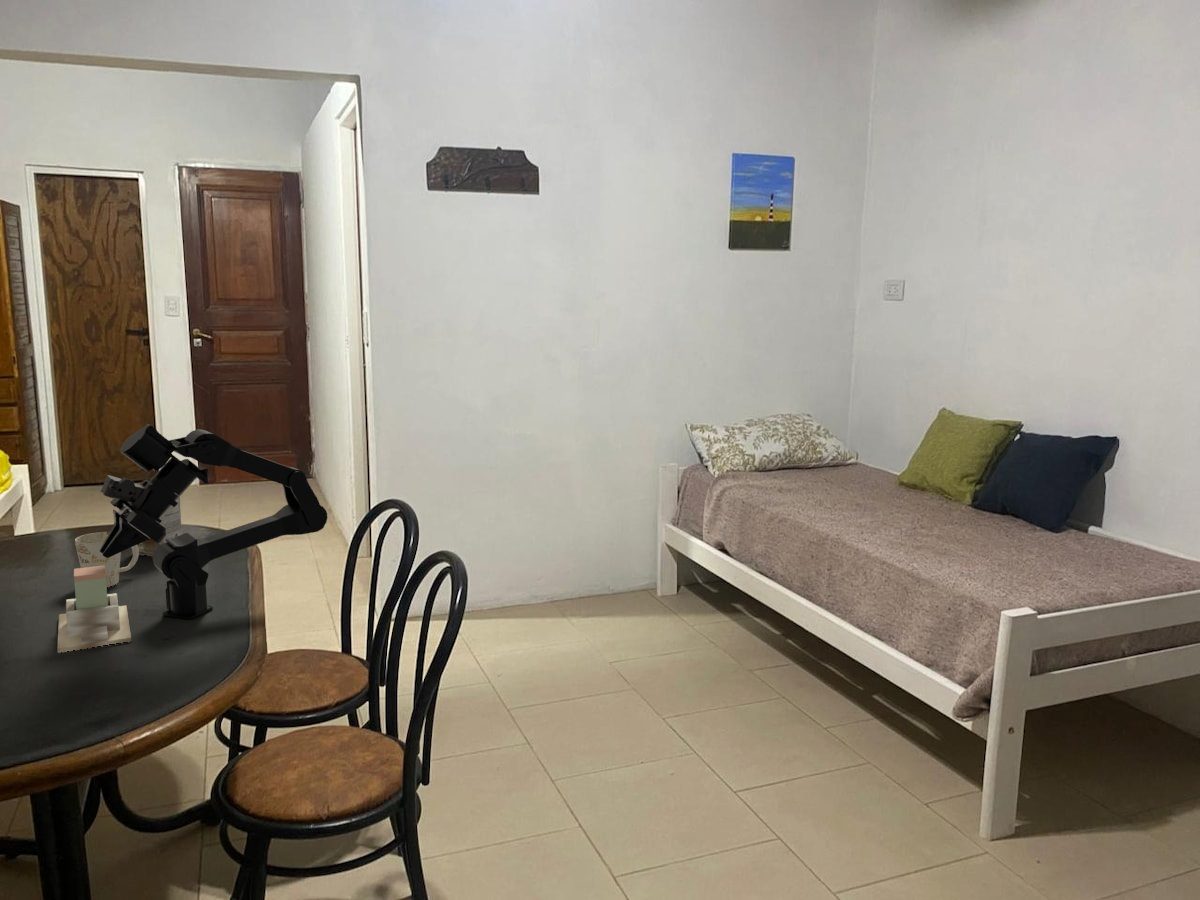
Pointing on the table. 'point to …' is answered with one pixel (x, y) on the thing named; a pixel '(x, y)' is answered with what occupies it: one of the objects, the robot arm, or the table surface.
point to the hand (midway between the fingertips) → (103, 554)
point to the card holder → (93, 626)
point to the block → (90, 587)
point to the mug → (101, 556)
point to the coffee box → (171, 524)
